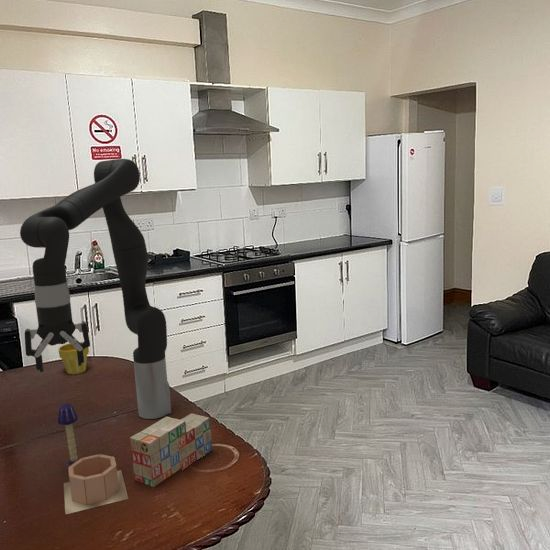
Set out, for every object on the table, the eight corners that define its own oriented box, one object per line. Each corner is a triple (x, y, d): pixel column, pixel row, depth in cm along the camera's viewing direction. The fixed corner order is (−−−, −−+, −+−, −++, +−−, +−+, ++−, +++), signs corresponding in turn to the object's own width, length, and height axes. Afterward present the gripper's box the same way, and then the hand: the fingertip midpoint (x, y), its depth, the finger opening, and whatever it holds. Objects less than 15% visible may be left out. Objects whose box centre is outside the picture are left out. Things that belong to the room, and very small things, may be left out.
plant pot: (55, 376, 201) (52, 350, 199) (70, 366, 211) (67, 341, 209) (82, 376, 199) (79, 351, 197) (95, 366, 209) (93, 342, 207)
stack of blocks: (194, 445, 146) (190, 401, 144) (212, 451, 143) (209, 406, 141) (134, 485, 129) (129, 436, 126) (153, 493, 125) (149, 443, 123)
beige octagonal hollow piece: (115, 474, 131) (112, 451, 130) (120, 496, 122) (117, 471, 121) (70, 484, 127) (67, 461, 126) (72, 508, 118) (69, 483, 117)
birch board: (121, 474, 133) (121, 469, 133) (128, 503, 121) (128, 498, 121) (64, 487, 128) (63, 483, 128) (66, 519, 117) (65, 514, 116)
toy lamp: (77, 473, 134) (69, 409, 131) (59, 472, 135) (51, 408, 132) (87, 463, 139) (80, 401, 136) (70, 462, 140) (63, 400, 137)
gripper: (84, 295, 135) (91, 358, 138) (20, 302, 130) (29, 368, 133) (85, 301, 128) (93, 368, 131) (18, 309, 123) (28, 378, 126)
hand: (61, 367), depth 132 cm, fingers open, 8 cm apart
